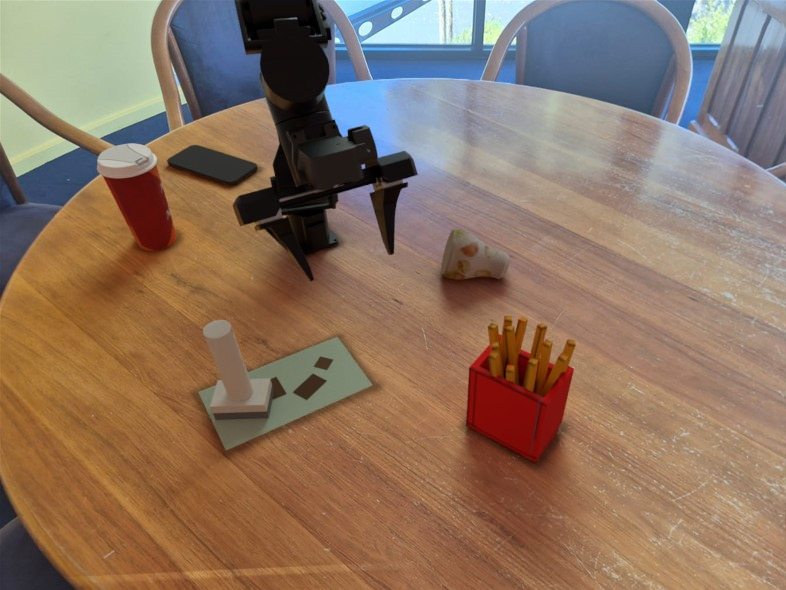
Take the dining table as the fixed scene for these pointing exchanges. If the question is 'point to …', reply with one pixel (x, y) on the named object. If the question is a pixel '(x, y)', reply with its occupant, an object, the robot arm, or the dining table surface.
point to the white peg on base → (235, 378)
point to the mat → (295, 389)
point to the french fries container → (519, 389)
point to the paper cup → (138, 194)
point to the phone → (212, 164)
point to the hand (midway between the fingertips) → (352, 267)
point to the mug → (471, 258)
